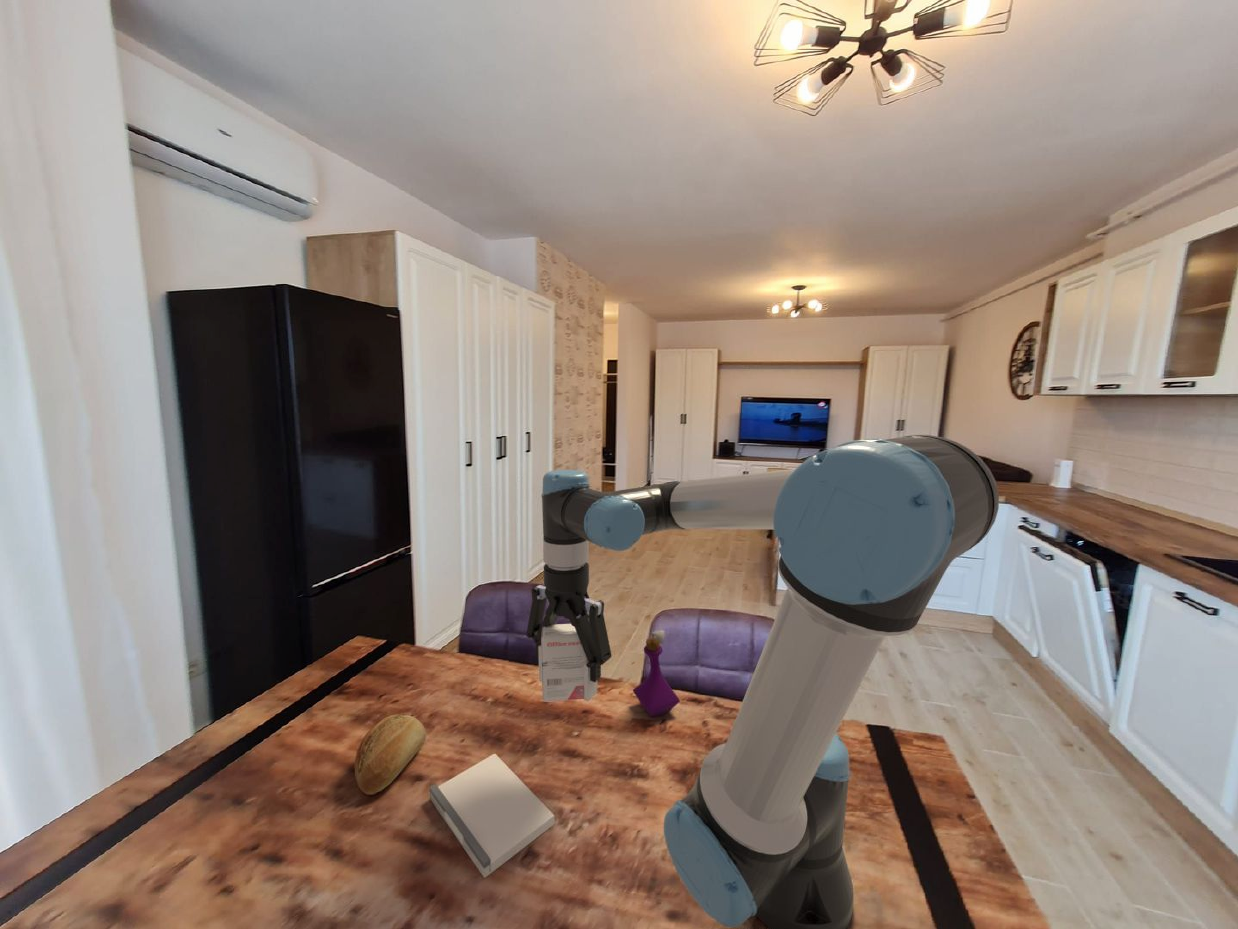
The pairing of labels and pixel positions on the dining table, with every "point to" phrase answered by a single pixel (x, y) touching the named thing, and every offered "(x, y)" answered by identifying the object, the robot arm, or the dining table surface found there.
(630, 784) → the dining table surface
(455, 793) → the white flat slab
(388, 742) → the bread roll
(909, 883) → the dining table surface
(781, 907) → the robot arm
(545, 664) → the ink box
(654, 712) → the perfume bottle
